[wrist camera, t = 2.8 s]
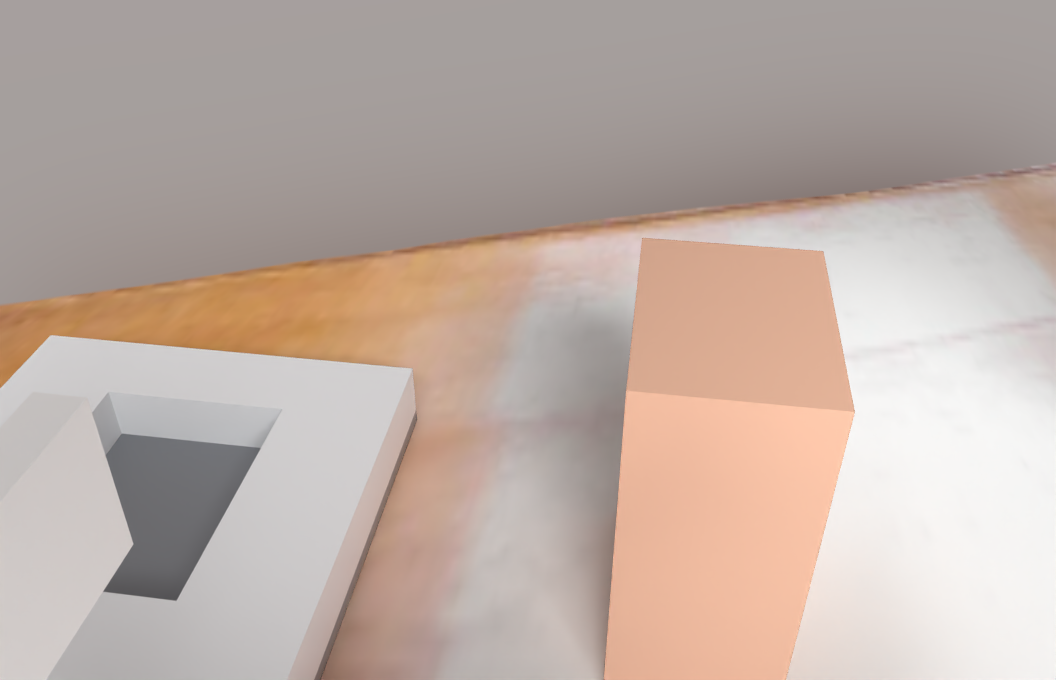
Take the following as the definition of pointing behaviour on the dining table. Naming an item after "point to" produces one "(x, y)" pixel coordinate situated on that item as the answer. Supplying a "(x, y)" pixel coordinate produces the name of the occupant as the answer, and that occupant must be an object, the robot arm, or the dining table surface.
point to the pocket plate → (227, 502)
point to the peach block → (724, 460)
